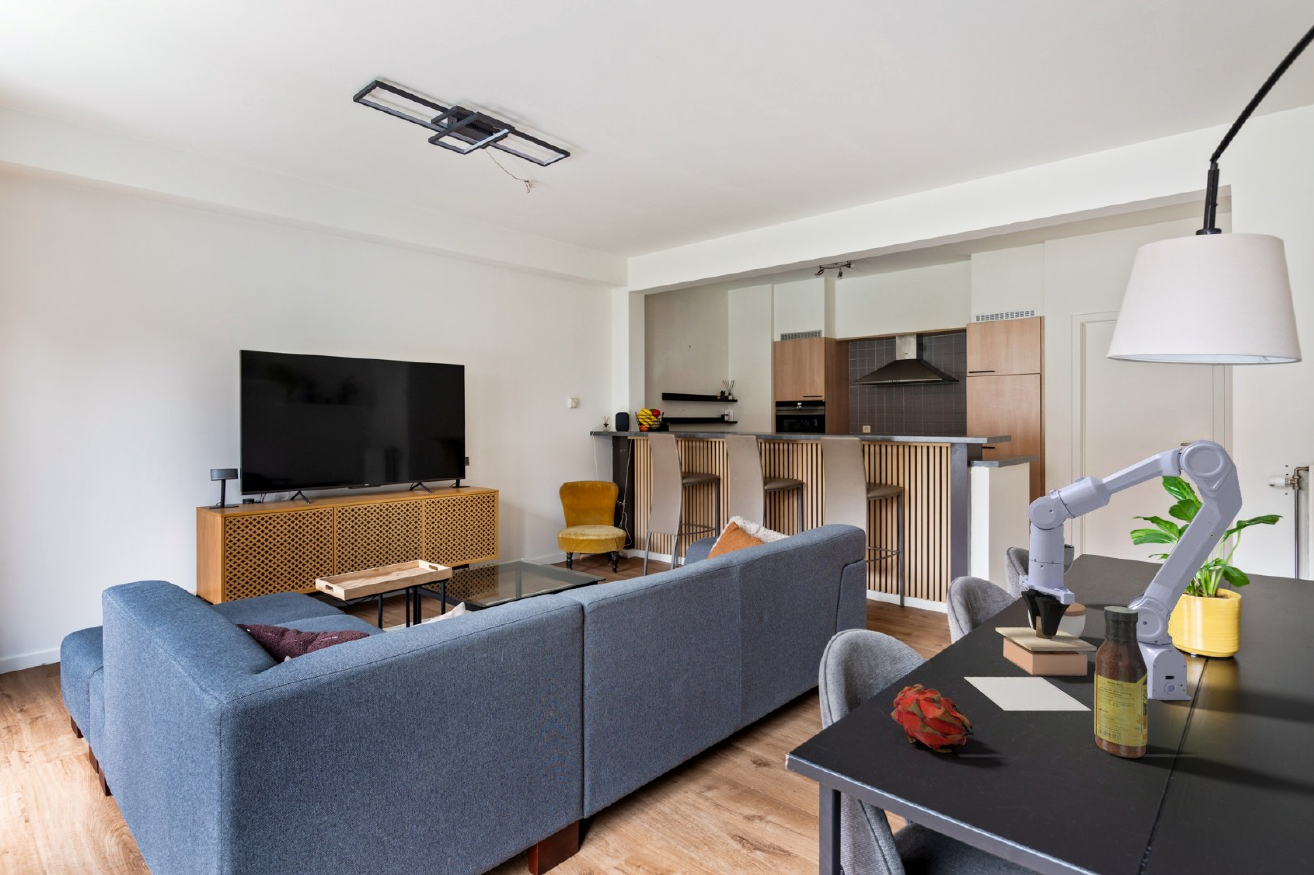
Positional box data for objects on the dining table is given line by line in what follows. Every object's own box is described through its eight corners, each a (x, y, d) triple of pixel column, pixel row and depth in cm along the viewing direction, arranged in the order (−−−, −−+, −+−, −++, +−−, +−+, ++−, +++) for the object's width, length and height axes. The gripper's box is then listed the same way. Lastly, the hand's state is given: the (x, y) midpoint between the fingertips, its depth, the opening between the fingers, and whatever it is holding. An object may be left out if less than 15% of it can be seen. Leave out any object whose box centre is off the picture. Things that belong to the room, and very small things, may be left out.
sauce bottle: (1155, 762, 94) (1160, 617, 93) (1104, 758, 95) (1108, 614, 94) (1132, 740, 100) (1136, 605, 100) (1085, 736, 101) (1088, 602, 101)
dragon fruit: (891, 734, 105) (966, 778, 96) (869, 716, 100) (946, 760, 91) (916, 685, 107) (992, 723, 98) (895, 664, 102) (974, 702, 93)
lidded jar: (1069, 633, 151) (1070, 590, 150) (1095, 649, 140) (1097, 604, 140) (1018, 631, 152) (1019, 589, 152) (1040, 647, 141) (1041, 602, 141)
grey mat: (1091, 712, 110) (1091, 710, 110) (1004, 712, 109) (1004, 710, 109) (1040, 679, 124) (1040, 677, 124) (963, 679, 123) (963, 677, 123)
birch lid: (1096, 650, 124) (1097, 627, 124) (1031, 650, 123) (1031, 627, 123) (1055, 630, 136) (1055, 609, 136) (995, 630, 135) (996, 609, 135)
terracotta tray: (1086, 677, 125) (1087, 655, 125) (1032, 677, 125) (1032, 655, 124) (1053, 658, 135) (1054, 637, 135) (1003, 658, 135) (1003, 637, 134)
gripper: (1004, 552, 136) (1003, 620, 137) (1047, 568, 122) (1045, 645, 122) (1040, 553, 136) (1038, 621, 137) (1087, 569, 122) (1085, 645, 122)
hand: (1044, 632), depth 129 cm, fingers closed on birch lid, 3 cm apart
